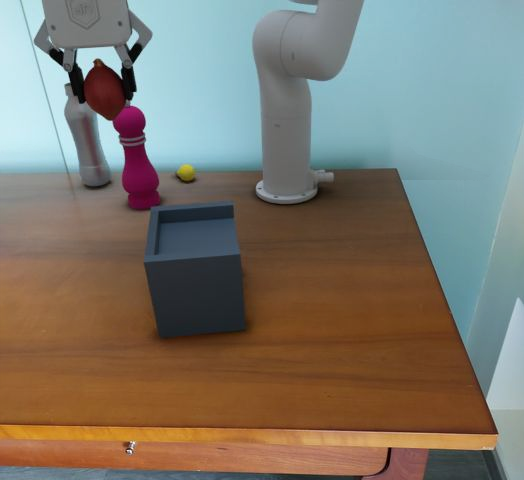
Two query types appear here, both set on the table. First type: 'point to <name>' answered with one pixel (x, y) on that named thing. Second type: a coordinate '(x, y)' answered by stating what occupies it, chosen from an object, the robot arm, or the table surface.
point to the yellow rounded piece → (185, 172)
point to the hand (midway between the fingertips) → (106, 98)
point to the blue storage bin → (194, 269)
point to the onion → (104, 91)
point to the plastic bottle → (86, 140)
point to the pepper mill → (136, 159)
